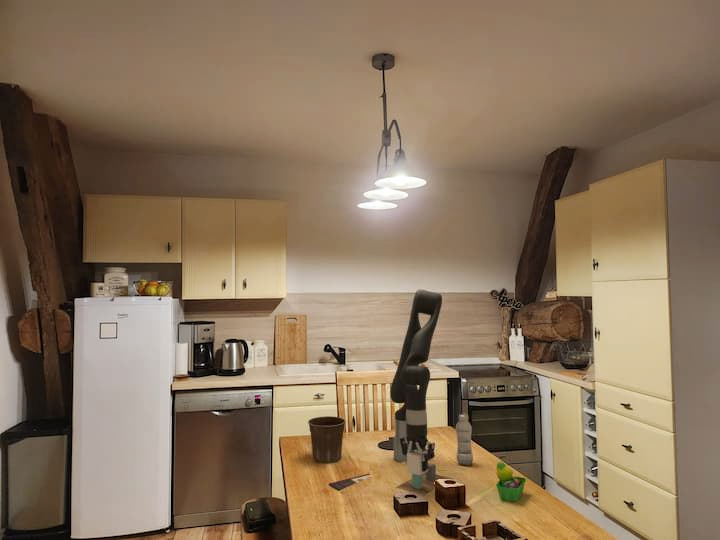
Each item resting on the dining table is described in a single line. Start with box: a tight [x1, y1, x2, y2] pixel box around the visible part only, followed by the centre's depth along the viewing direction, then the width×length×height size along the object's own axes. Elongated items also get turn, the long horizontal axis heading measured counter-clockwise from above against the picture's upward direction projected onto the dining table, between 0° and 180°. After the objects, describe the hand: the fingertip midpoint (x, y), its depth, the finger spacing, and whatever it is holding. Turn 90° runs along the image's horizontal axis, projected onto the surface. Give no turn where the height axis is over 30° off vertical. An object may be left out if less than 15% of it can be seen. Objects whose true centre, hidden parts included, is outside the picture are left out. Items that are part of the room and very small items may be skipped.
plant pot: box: [307, 415, 346, 464], centre depth 219 cm, size 16×16×16 cm
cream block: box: [406, 450, 428, 475], centre depth 183 cm, size 5×5×7 cm
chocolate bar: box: [328, 473, 374, 494], centre depth 190 cm, size 9×1×18 cm
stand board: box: [395, 472, 454, 496], centre depth 186 cm, size 20×12×1 cm, turn 140°
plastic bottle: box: [455, 413, 474, 466], centre depth 210 cm, size 6×7×20 cm
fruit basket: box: [495, 461, 527, 503], centre depth 176 cm, size 11×9×11 cm
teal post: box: [411, 473, 423, 489], centre depth 183 cm, size 3×3×5 cm
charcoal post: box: [426, 462, 437, 481], centre depth 190 cm, size 3×3×5 cm
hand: (417, 469), depth 183 cm, fingers closed on cream block, 5 cm apart
